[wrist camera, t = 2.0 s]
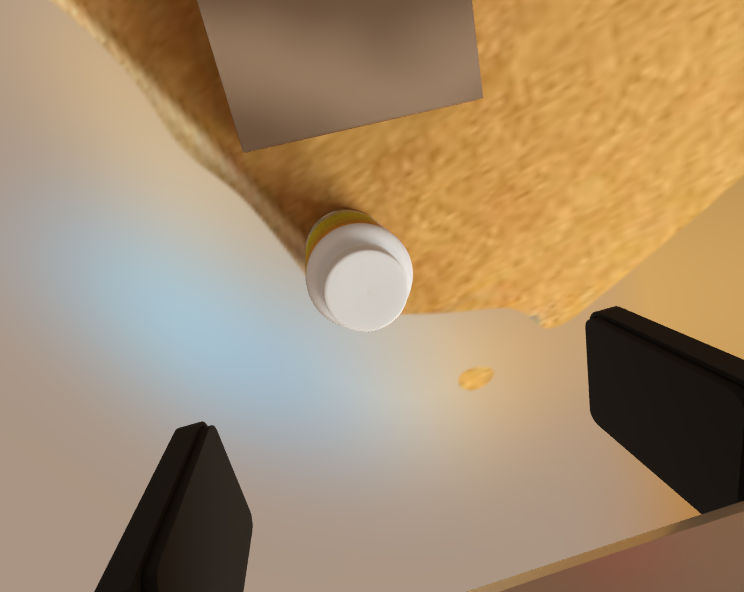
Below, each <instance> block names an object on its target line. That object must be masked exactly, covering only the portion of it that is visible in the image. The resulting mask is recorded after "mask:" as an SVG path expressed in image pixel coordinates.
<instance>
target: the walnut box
mask: <svg viewBox="0 0 744 592" xmlns="http://www.w3.org/2000/svg"><path fill="white" fill-rule="evenodd" d="M197 3H198V6H199V9H200V12H201V16H202V19H203V22H204V26H205V29H206V32H207V35H208V39H209V42H210V45H211V48H212V52H213V55H214V58H215V61H216V65H217V68H218V71H219V75H220V78H221V81H222V84H223V88H224V91H225V94H226V97H227V101H228V104H229V107H230V111H231V114H232V117H233V120H234V124H235V127H236V130H237V133H238V137H239V140H240V143H241V146H242V150H243V152H250V151H255V150H259V149H264V148H268V147H272V146H277V145H281V144H286V143H290V142H294V141H299V140H303V139H308V138H312V137H316V136H321V135H325V134H330V133H334V132H339V131H343V130H347V129H352V128H356V127H361V126H365V125H369V124H374V123H378V122H383V121H387V120H391V119H396V118H400V117H405V116H409V115H414V114H418V113H422V112H427V111H431V110H436V109H440V108H444V107H449V106H453V105H458V104H462V103H466V102H471V101H475V100H478V99H480V98H483V93H482V85H481V76H480V67H479V59H478V50H477V41H476V33H475V24H474V15H473V6H472V0H197Z"/></svg>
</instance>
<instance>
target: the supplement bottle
mask: <svg viewBox="0 0 744 592" xmlns="http://www.w3.org/2000/svg"><path fill="white" fill-rule="evenodd" d="M305 252H306V284H307V289H308V293H309V296H310V298H311V300H312V302H313V304H314V305H315V307H316V308H317V309H318V311H319V312H320V313H321V314H322V315H323V316H325V317H326V318H327V319H329V320H330V321H332V322H334V323H336V324H338V325H341V326H345V327H347V328H349V329H352V330H355V331H373V330H377V329H380V328H383V327H385V326H387V325H388V324H390V323H391V322H393V321H394V319H396V318H397V317H398V316H399V314H400V313H401V312H402V310H403V308H404V306H405V304H406V301H407V298H408V296H409V293H410V290H411V286H412V280H413V270H412V263H411V259H410V257H409V254H408V252H407V250H406V248H405V247H404V245H403V244H402V243H401V241H400V240H399V239H398V238H397V237H396V236H394V235H393V234H392V233H391V232H389V231H388V230H387V229H386V228H384V227H383V226H382V225H381V224H380V223H378V222H377V221H376V220H374V219H373V218H372V217H370V216H369V215H367V214H365V213H363V212H361V211H358V210H353V209H340V210H336V211H332V212H330V213H328V214H326V215H325V216H323V217H322V218H320V219H319V220H318V221H317V222H316V223H315V225H314V226H313V227H312V229H311V231H310V233H309V235H308V238H307V242H306V249H305Z"/></svg>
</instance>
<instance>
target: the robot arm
mask: <svg viewBox="0 0 744 592" xmlns="http://www.w3.org/2000/svg"><path fill="white" fill-rule="evenodd" d="M585 327H586V328H585V329H586V345H587V346H586V347H587V365H588V381H589V382H588V383H589V399H590V412H591V415H592V417H593V419H594V421H595V422H596V423H597V424H598V425H599V426H600V427H601V428H602V429H603V430H605V431H606V432H607V433H608V434H609V435H610V436H611V437H613V438H614V439H615V440H616V441H617V442H618V443H620V444H621V445H622V446H623V447H624V448H625V449H626V450H628V451H629V452H630V453H631V454H632V455H634V456H635V457H636V458H637V459H638V460H639V461H640V462H642V463H643V464H644V465H645V466H646V467H647V468H649V469H650V470H651V471H652V472H653V473H654V474H656V475H657V476H658V477H659V478H660V479H661V480H663V481H664V482H665V483H666V484H667V485H668V486H670V487H671V488H672V489H673V490H674V491H675V492H676V493H678V494H679V495H680V496H681V497H682V498H684V499H685V500H686V501H687V502H688V503H689V504H690V505H692V506H693V507H694V508H695V509H697V510H698V511H699V512H700V513H701V514H702V515H699V516H696V517H692V518H689V519H687V520H683V521H680V522H677V523H674V524H671V525H668V526H665V527H662V528H659V529H656V530H652V531H649V532H647V533H643V534H640V535H637V536H634V537H631V538H628V539H625V540H622V541H618V542H616V543H612V544H609V545H606V546H603V547H601V548H597V549H594V550H591V551H589V552H585V553H582V554H579V555H576V556H573V557H570V558H567V559H564V560H561V561H558V562H555V563H552V564H549V565H546V566H543V567H540V568H537V569H534V570H531V571H528V572H525V573H522V574H519V575H516V576H513V577H510V578H507V579H504V580H501V581H498V582H495V583H492V584H489V585H486V586H483V587H480V588H477V589H474V590H471V591H468V592H744V360H743V359H741V358H738V357H736V356H734V355H731V354H729V353H726V352H724V351H722V350H719V349H717V348H715V347H712V346H710V345H708V344H705V343H703V342H701V341H698V340H696V339H694V338H691V337H689V336H687V335H684V334H682V333H679V332H677V331H675V330H672V329H670V328H668V327H665V326H663V325H661V324H658V323H656V322H654V321H651V320H649V319H647V318H644V317H642V316H640V315H637V314H635V313H633V312H630V311H628V310H626V309H623V308H621V307H617V306H615V307H611V308H607V309H604V310H600V311H596V312H593V313H592V314H591V316H590V319H589V320H588V321H587V322H586V326H585ZM252 525H253V524H252V516H251V513H250V510H249V508H248V505H247V502H246V500H245V498H244V495H243V493H242V490H241V488H240V485H239V483H238V480H237V478H236V476H235V473H234V471H233V468H232V466H231V464H230V461H229V459H228V456H227V454H226V451H225V449H224V446H223V444H222V442H221V439H220V437H219V434H218V432H217V429H216V428H215V427H214V426H213V425H211V426H207V425H206V423H205V422H198V423H195V424H191V425H188V426H184V427H180V428H178V429H176V431H175V432H174V434H173V436H172V438H171V440H170V442H169V444H168V446H167V448H166V450H165V452H164V454H163V456H162V458H161V460H160V462H159V464H158V466H157V468H156V470H155V472H154V474H153V476H152V478H151V480H150V482H149V484H148V486H147V488H146V490H145V492H144V494H143V496H142V498H141V500H140V502H139V504H138V506H137V508H136V510H135V512H134V514H133V516H132V518H131V520H130V522H129V524H128V526H127V528H126V530H125V532H124V534H123V536H122V538H121V540H120V542H119V544H118V546H117V548H116V550H115V552H114V554H113V556H112V558H111V560H110V562H109V564H108V566H107V568H106V570H105V572H104V574H103V576H102V578H101V580H100V582H99V583H98V586H97V588H96V590H95V591H94V592H243V590H244V583H245V576H246V570H247V563H248V556H249V549H250V542H251V536H252V528H253V526H252Z"/></svg>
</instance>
